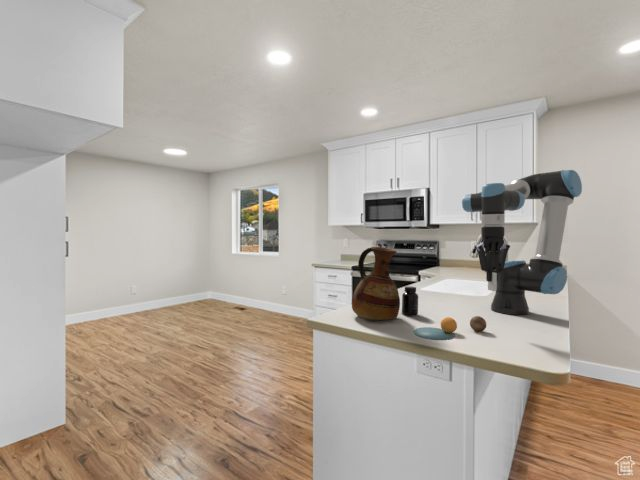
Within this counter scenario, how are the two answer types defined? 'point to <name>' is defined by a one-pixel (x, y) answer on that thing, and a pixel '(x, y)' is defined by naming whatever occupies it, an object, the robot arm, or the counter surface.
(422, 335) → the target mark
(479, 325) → the dark brown ball
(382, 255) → the ceramic pitcher
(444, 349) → the counter surface
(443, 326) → the object ball
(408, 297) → the supplement bottle
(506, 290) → the robot arm
